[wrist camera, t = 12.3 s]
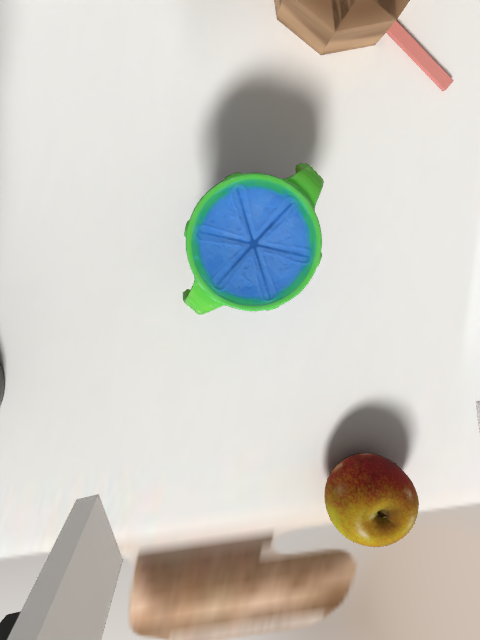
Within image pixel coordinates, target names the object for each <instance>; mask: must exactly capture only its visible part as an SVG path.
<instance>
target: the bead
mask: <svg viewBox="0 0 480 640" xmlns="http://www.w3.org/2000/svg"><path fill="white" fill-rule="evenodd" d="M274 1H275V8H276V15H277V19H278V20H279V21H280V22H281V23H282V24H284V25H285V26H286V27H287V28H289V29H290V30H291V31H292V32H293V33H295V34H296V35H297V36H298V37H300V38H301V39H302V40H303V41H304V42H306V43H307V44H308V45H309V46H311V47H312V48H313V49H314V50H315V51H317V52H318V53H319V54H320V55H324V54H330V53H335V52H340V51H346V50H351V49H356V48H362V47H367V46H372V45H375V44H376V43H377V42H378V41H379V40H380V38H381V37H382V36H383V35H384V34H385V33H386V32H387V30H388V29H389V28H390V27H391V26H392V25H393V23H394V22H395V21H396V20H397V18H398V17H399V15H400V14H401V12H402V11H403V9H404V8H405V7H406V5H407V4H408V2H409V1H410V0H274Z"/></svg>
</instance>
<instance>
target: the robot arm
mask: <svg viewBox="0 0 480 640" xmlns="http://www.w3.org/2000/svg"><path fill="white" fill-rule="evenodd" d="M3 394H4V376H3V371H2V367H1V364H0V405H1V402H2V399H3ZM476 407H477V416H478V425H479V434H480V401H476ZM122 562H123V559H122V556H121V554H120V551H119V548H118V546H117V543H116V540H115V537H114V535H113V532H112V529H111V527H110V524H109V521H108V519H107V516H106V513H105V510H104V508H103V505H102V502H101V500H100V497H99V494H98V495H94V496H89V497H85V498H81V499H77V500H76V502H75V504H74V506H73V508H72V510H71V512H70V514H69V516H68V518H67V520H66V522H65V524H64V526H63V528H62V530H61V532H60V534H59V536H58V538H57V540H56V542H55V544H54V546H53V548H52V550H51V552H50V554H49V556H48V558H47V560H46V562H45V564H44V566H43V568H42V570H41V572H40V574H39V576H38V578H37V580H36V582H35V584H34V586H33V588H32V590H31V592H30V595H29V597H28V599H27V601H26V602H25V604H24V607H23V609H22V611H21V612H17V613H12V614H8V615H6V617H5V618H4V619H3V620H2V621H1V623H0V640H101V638H102V635H103V631H104V627H105V624H106V620H107V617H108V612H109V609H110V605H111V602H112V598H113V594H114V591H115V587H116V584H117V580H118V576H119V572H120V569H121V565H122Z"/></svg>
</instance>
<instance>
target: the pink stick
mask: <svg viewBox="0 0 480 640" xmlns="http://www.w3.org/2000/svg"><path fill="white" fill-rule="evenodd" d="M386 33H387V34H388V35H389V36H390V37H391V38H392V39H393V40H394V41H395V42H396V43H397V44H398V45H399V46H400V47H401V48H402V49H403V50H404V51H405V52H406V53H407V54H408V55H409V57H410V58H411V59H412V60H413V61H414V62H415V63H416V64H417V65H418V66H419V67H420V68H421V69H422V70H423V71H424V72H425V73H426V74H427V75H428V76H429V77H430V78H431V79H432V80H433V81H434V82H435V83H436V84H437V86H438V87H439V88H440V89H441V90H442V91H444V90H446V89H447V88H448V86H449V85H450V84H451V83H452V82H453V80H452V79H451V77H450V76H449V75H448V74H447V73H446V72H445V71H444V70H443V69H442V68H441V67H440V66H439V65H438V64H437V63H436V62H435V61H434V60H433V59H432V58H431V56H430V55H429V54H428V53H427V52H426V51H425V50H424V49H423V48H422V47H421V46H420V45H419V44H418V43H417V42H416V41H415V40H414V39H413V38H412V37H411V35H410V34H409V33H408V32H407V31H406V30H405V29H404V28H403V27H402V26H401V25H400V24H399V23H398V22H397V21H395V22H394V23H393V25H392V26H391V27H390V28H389V29H388V30H387V32H386Z"/></svg>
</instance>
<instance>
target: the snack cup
mask: <svg viewBox="0 0 480 640" xmlns="http://www.w3.org/2000/svg"><path fill="white" fill-rule="evenodd" d="M322 187H323V179H322V178H321V176H319V175H318V174H317V172H316V171H314V170H313V168H312V167H311V166H310V165H308V164H299V165H297V166H296V174H294V175H293V176H291V177H289V178H286V179H280V178H278V177H275V176H272V175H267V174H262V173H247V174H242V173H235V174H232V175H229V176H227V177H226V178H225V180H224V181H222V182H220V183H218V184H217V185H215V186H214V187H213V188H211V189H210V190H209V191H208V192H207V193H206V194H205V195H204V196H203V197H202V198H201V199H200V201H199V202H198V204H197V206H196V207H195V209H194V211H193V213H192V215H191V218H190V220H189V221H188V222H187V224H186V227H185V233H184V236H185V237H186V251H187V257H188V261H189V264H190V267H191V270H192V272H193V274H194V277H195V280H194V284H193V286H192V288H191V290H189V289H187V290H186V291H184V292H183V301H184V302H185V303H186V304H187V305H188V306H190V308H192V309H193V310H194V311H195V312H196V313H197V314H205V313H207V312H209V311H212V310H214V309H216V308H218V307H221V306H223V305H226V306H229V307H232V308H235V309H239V310H245V311H261V310H271V309H275V308H278V307H279V306H280V305H282V304H284V303H286V302H288V301H289V300H291V299H292V298H294V297H295V296H296V295H298V294H299V293H300V292H301V291H302V290H303V289H304V288H305V286H306V285H307V284H308V282H309V281H310V279H311V278H312V276H313V274H314V272H315V270H316V268H317V266H319V263H320V260H321V258H322V253H321V248H322V238H321V237H322V235H321V229H320V225H319V221H318V218H317V216H316V213H315V205H316V202H317V200H318V198H319V195H320V192H321V190H322Z"/></svg>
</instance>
